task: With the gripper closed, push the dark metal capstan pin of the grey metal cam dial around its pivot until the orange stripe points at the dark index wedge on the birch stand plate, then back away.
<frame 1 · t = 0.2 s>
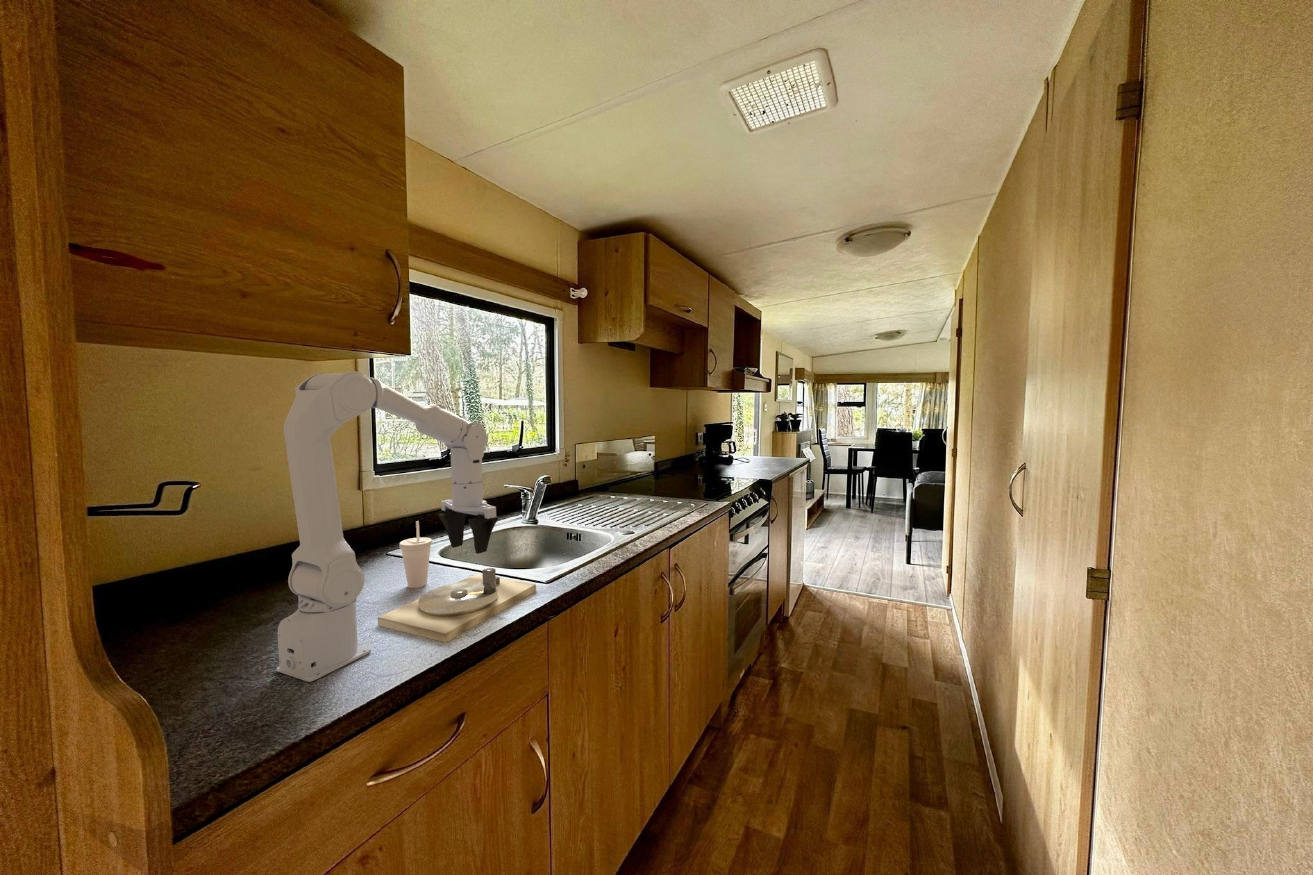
hand: (468, 549, 98), 10 cm above the worktop, tool pointing down, fingers open, 7 cm apart
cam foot: (458, 586, 94), point 4 cm above the worktop, hinge at -50.0°
stand plate: (459, 608, 94), on the worktop
smoothie: (417, 585, 107), on the worktop
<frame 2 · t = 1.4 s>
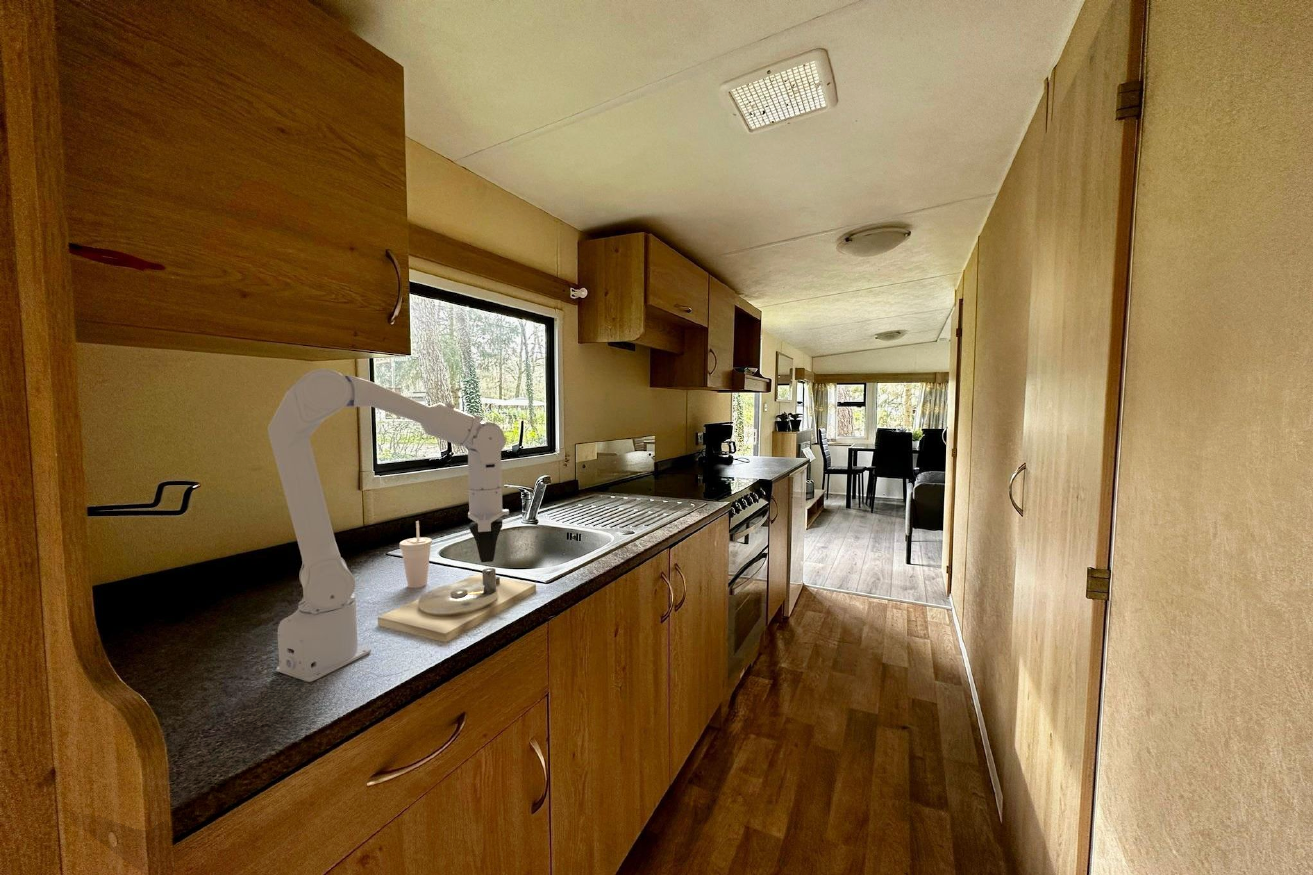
hand: (487, 561, 90), 10 cm above the worktop, tool pointing down, fingers closed
nothing on the worktop moved.
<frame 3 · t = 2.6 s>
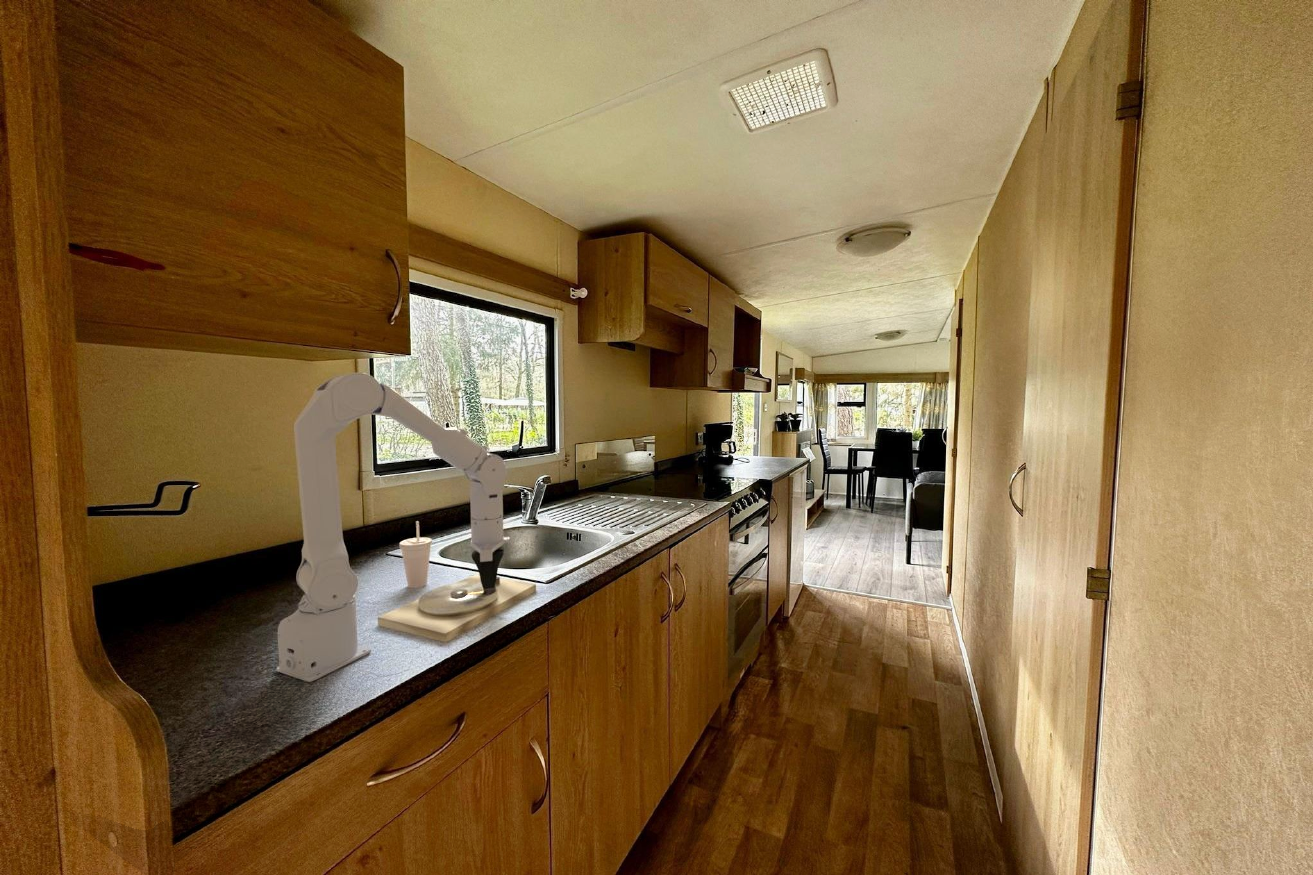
hand: (488, 587, 93), 4 cm above the worktop, tool pointing down, fingers closed
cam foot: (458, 586, 94), point 4 cm above the worktop, hinge at -50.0°, touching gripper
everything else where it was.
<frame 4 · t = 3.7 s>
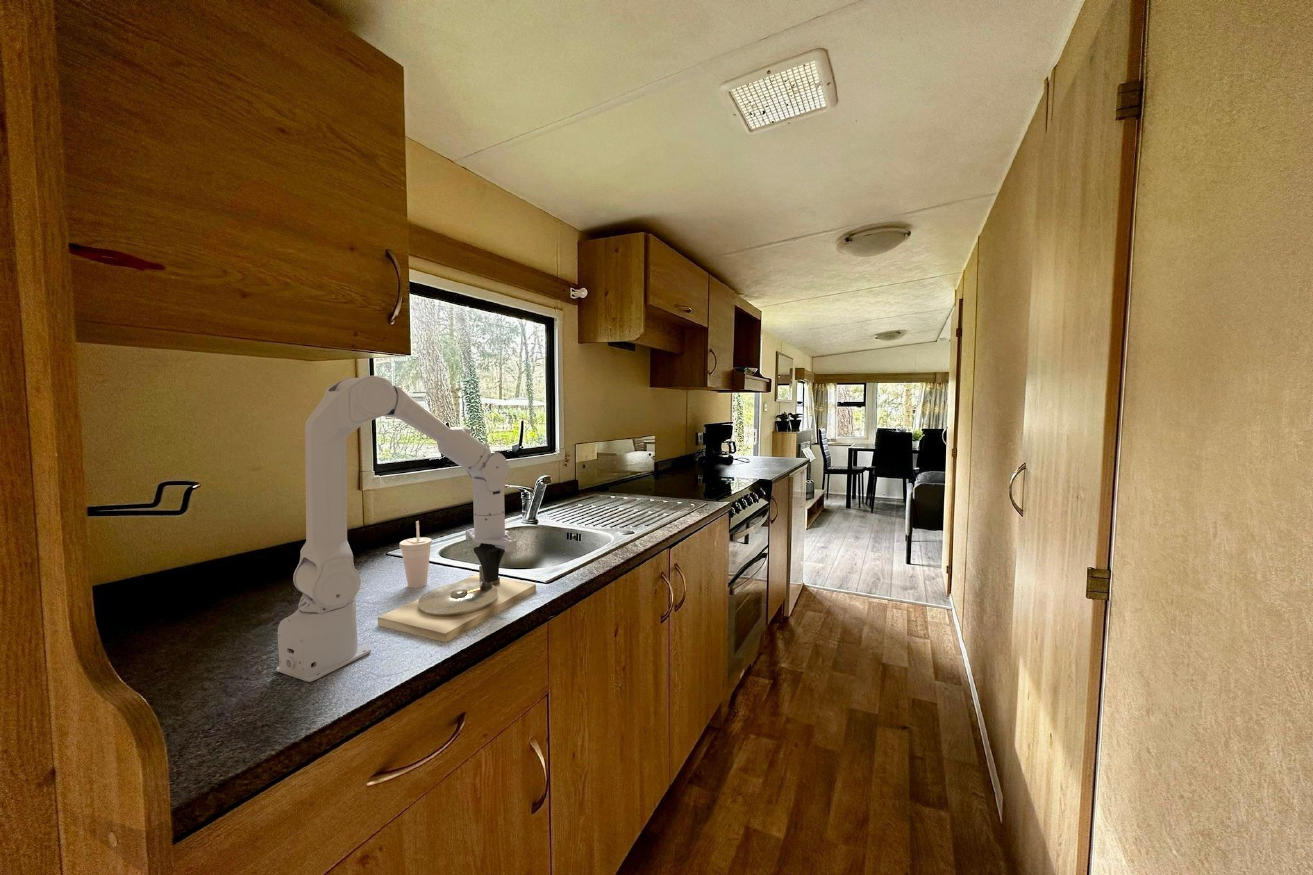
hand: (491, 580, 96), 4 cm above the worktop, tool pointing down, fingers closed
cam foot: (458, 586, 94), point 4 cm above the worktop, hinge at -20.2°, touching gripper
everything else where it was.
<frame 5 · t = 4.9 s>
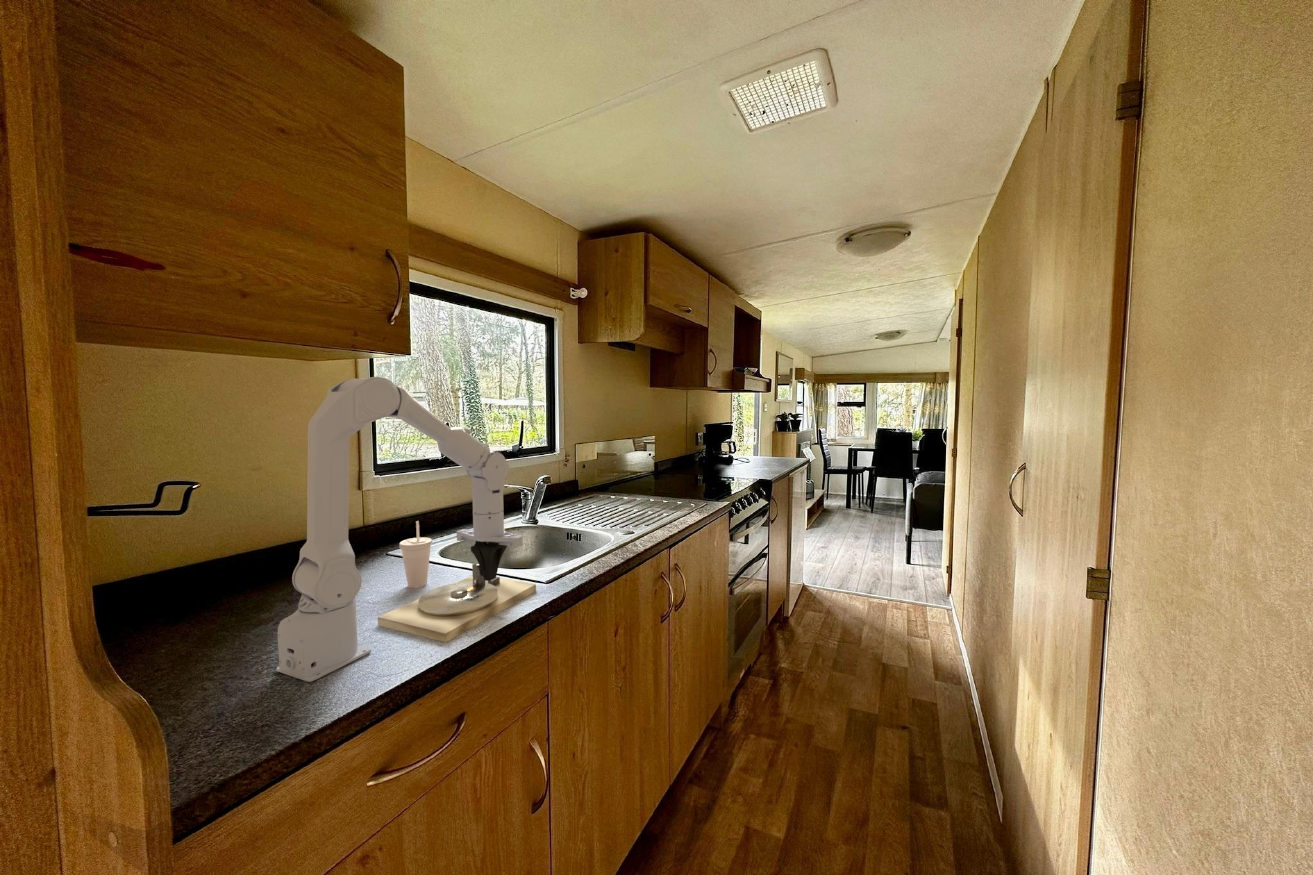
hand: (490, 578, 98), 4 cm above the worktop, tool pointing down, fingers closed
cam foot: (458, 586, 94), point 4 cm above the worktop, hinge at 2.0°
everything else where it was.
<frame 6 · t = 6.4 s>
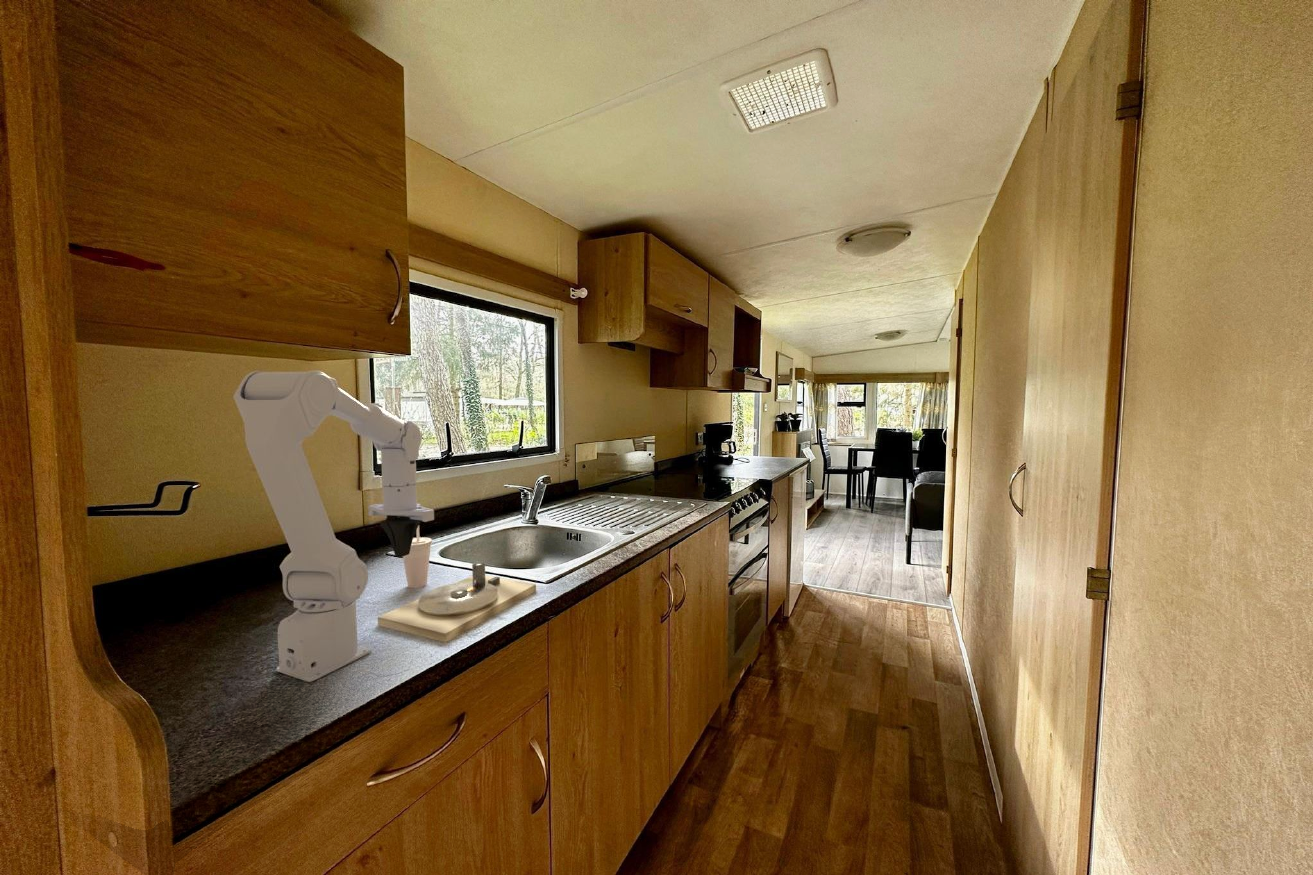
hand: (402, 555, 94), 10 cm above the worktop, tool pointing down, fingers closed
nothing on the worktop moved.
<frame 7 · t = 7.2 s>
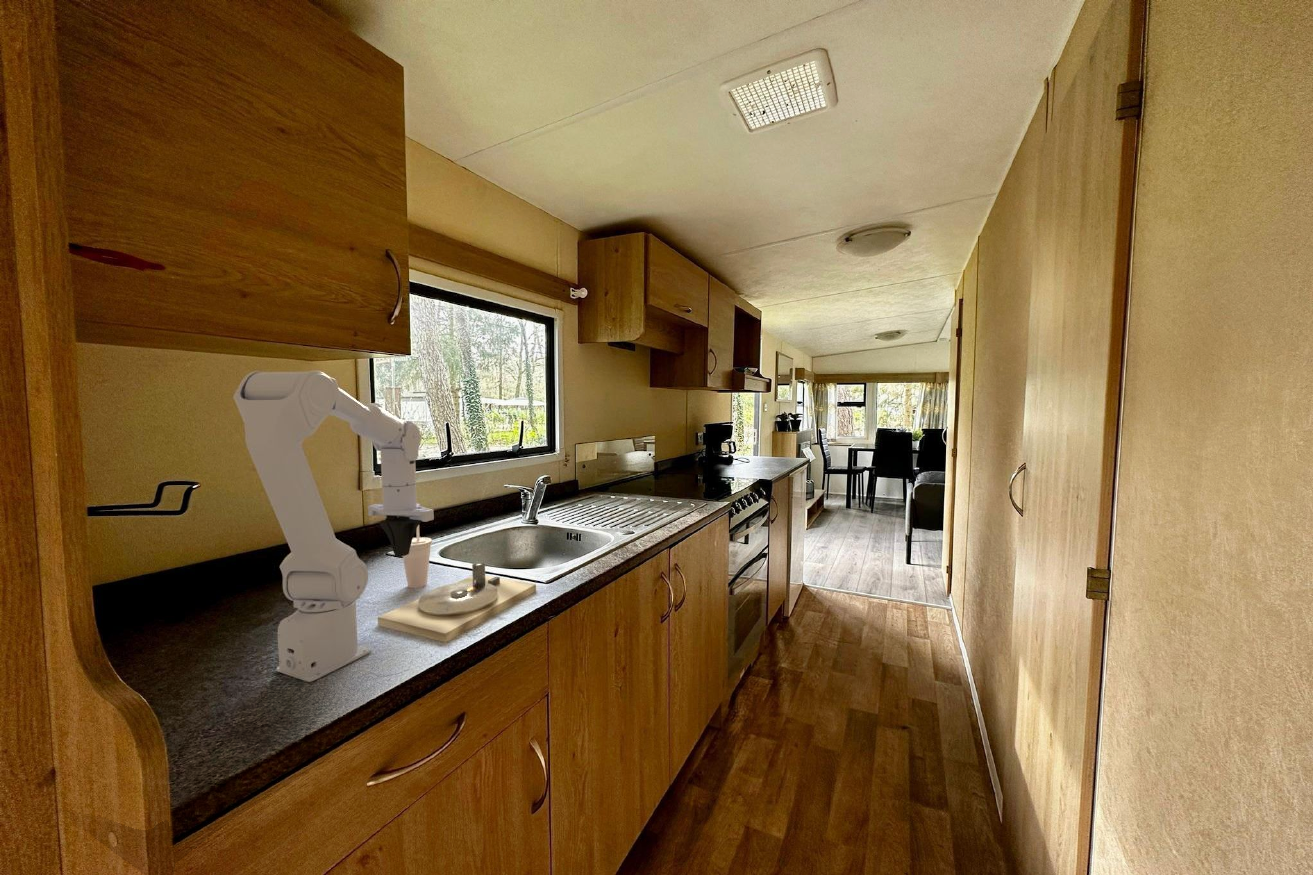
hand: (402, 555, 94), 10 cm above the worktop, tool pointing down, fingers closed
nothing on the worktop moved.
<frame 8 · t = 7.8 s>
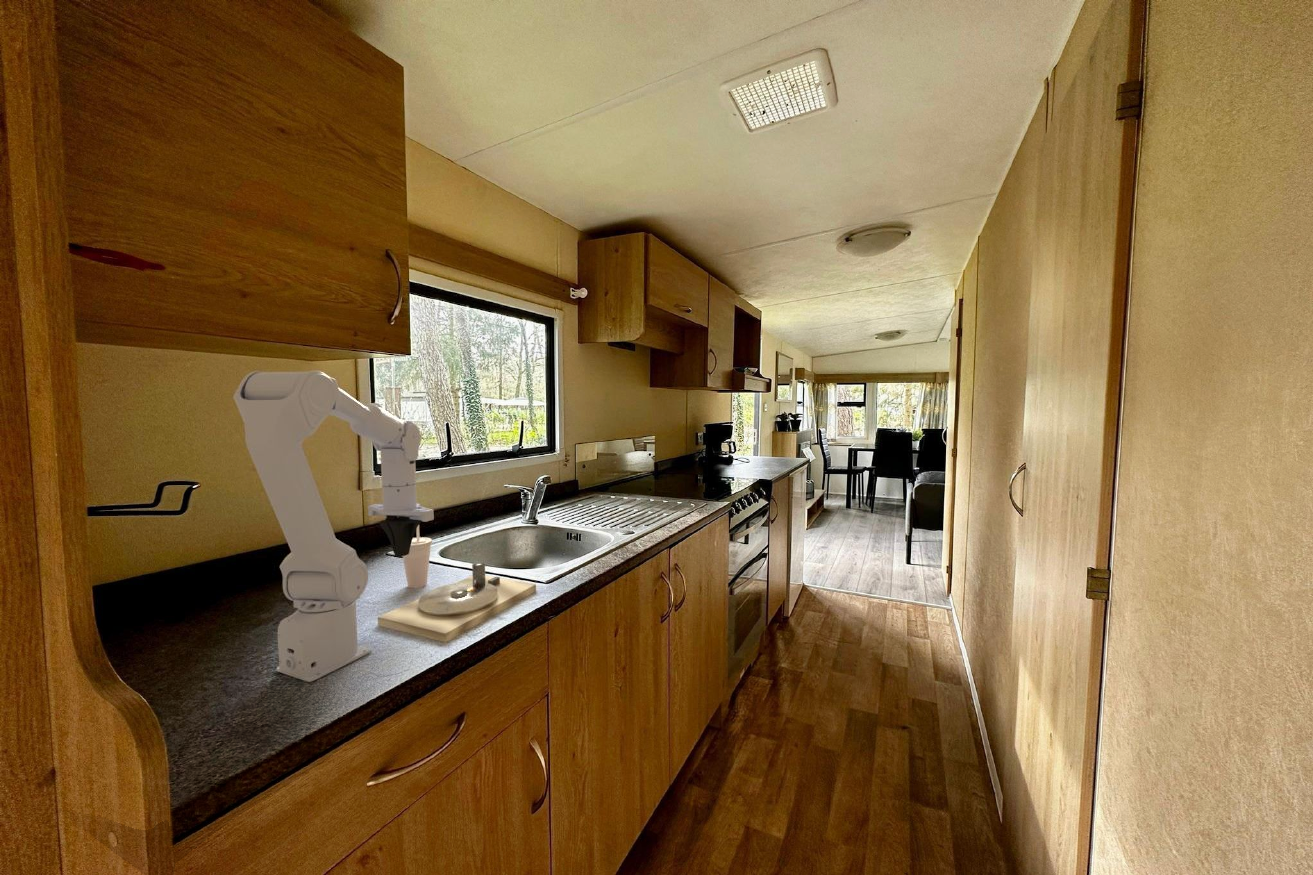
hand: (402, 555, 94), 10 cm above the worktop, tool pointing down, fingers closed
nothing on the worktop moved.
at the end: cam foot at +2° (first picture: -50°); smoothie moved 0.2 cm from its start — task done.
